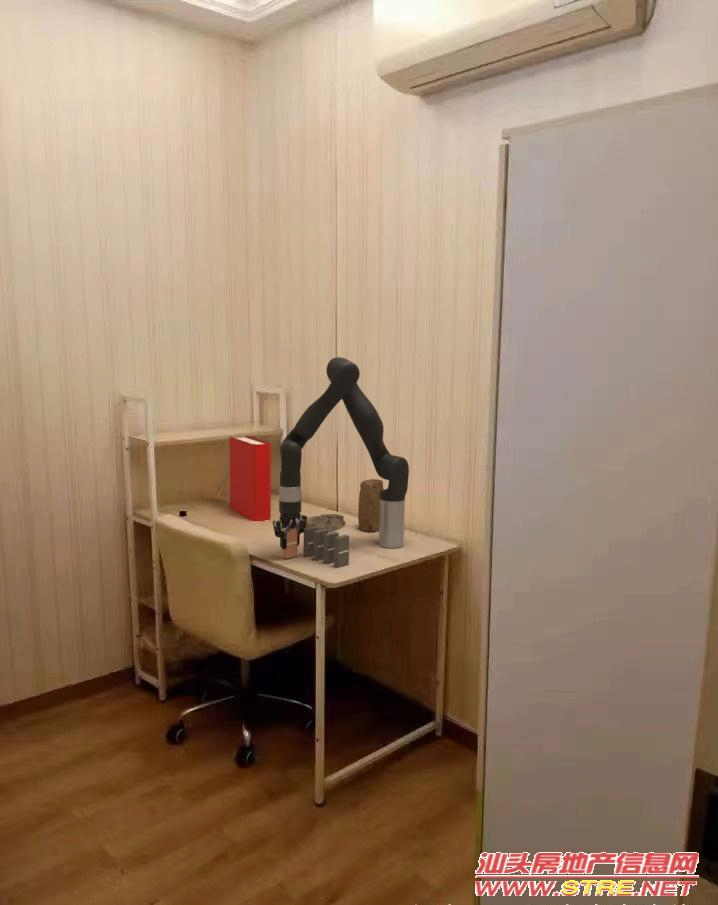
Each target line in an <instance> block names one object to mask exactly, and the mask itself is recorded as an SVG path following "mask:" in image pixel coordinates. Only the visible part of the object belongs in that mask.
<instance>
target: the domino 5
mask: <svg viewBox="0 0 718 905" xmlns="http://www.w3.org/2000/svg"><path fill="white" fill-rule="evenodd" d="M349 560H350V535H349V534H342V535H339V536H337V537H334V563H333V567H335V568H339V567H340V568H342V567H345V566H346V567H347V566H349V565H350V564H349V563H350V561H349Z"/></svg>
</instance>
